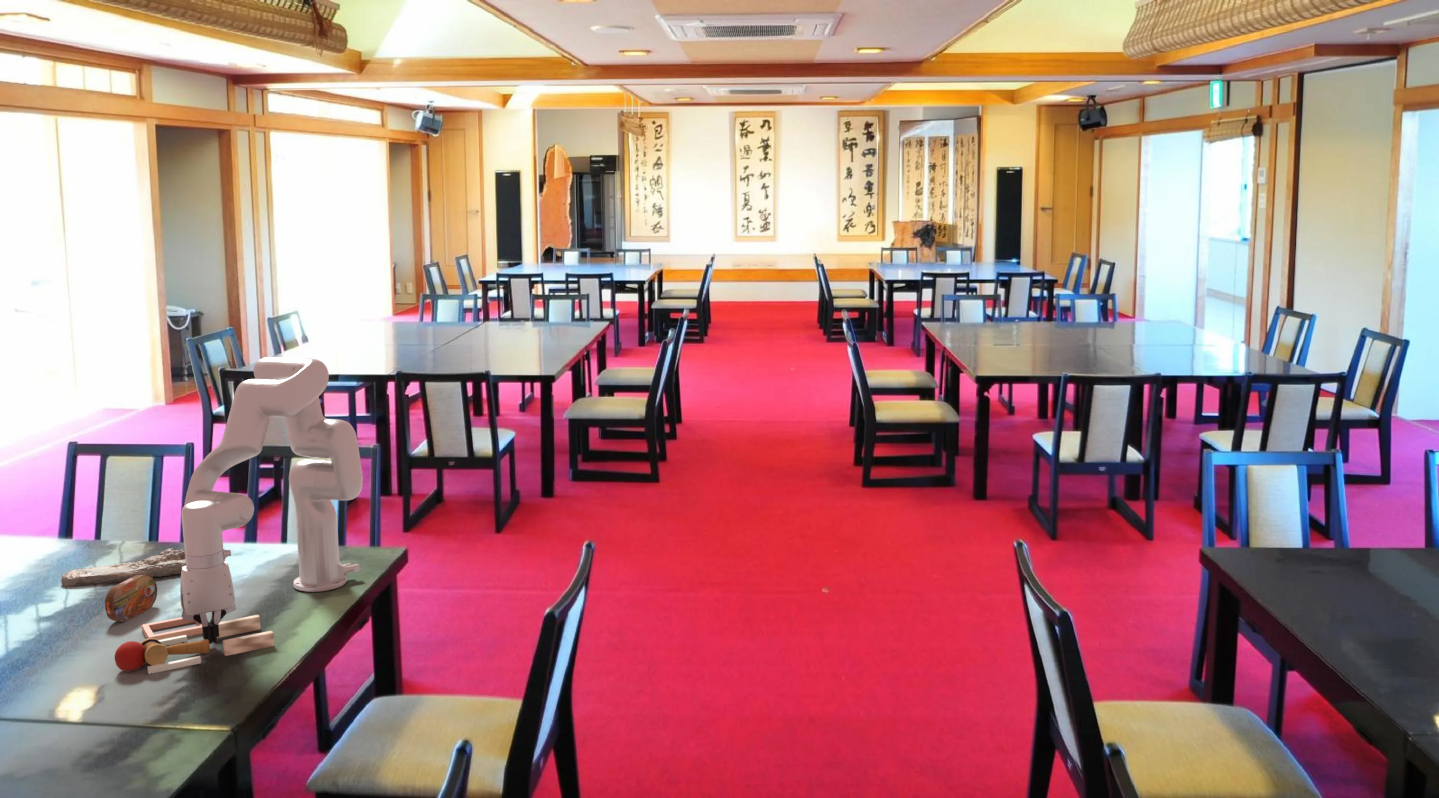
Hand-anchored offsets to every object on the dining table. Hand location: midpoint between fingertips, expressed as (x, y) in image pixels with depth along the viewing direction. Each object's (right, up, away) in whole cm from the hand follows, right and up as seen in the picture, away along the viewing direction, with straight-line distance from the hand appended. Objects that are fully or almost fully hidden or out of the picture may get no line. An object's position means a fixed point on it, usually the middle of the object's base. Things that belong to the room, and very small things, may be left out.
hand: (211, 641), depth 257 cm
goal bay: (-7, -2, -5) cm, 9 cm away
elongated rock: (-38, +7, +47) cm, 61 cm away
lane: (+5, -1, +4) cm, 6 cm away
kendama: (-7, -3, -8) cm, 11 cm away
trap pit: (-12, 0, +9) cm, 15 cm away
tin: (-26, +2, +19) cm, 33 cm away
